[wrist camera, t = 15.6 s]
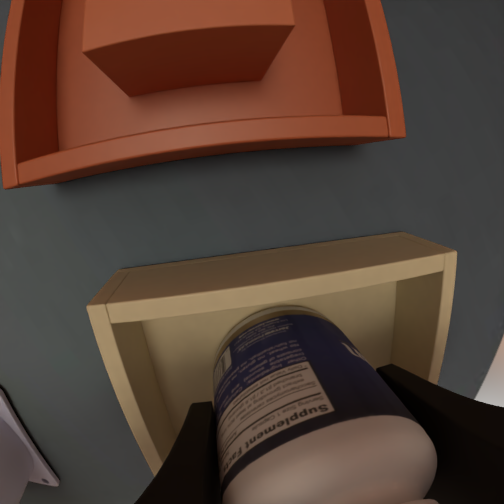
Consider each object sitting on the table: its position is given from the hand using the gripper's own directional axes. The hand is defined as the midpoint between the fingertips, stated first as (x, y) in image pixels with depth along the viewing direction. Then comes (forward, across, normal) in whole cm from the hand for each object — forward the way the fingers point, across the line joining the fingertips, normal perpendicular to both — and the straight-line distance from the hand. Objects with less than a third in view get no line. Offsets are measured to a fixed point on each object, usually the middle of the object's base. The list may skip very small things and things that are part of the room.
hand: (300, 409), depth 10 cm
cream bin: (+3, 0, 0) cm, 3 cm away
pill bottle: (+3, 0, 0) cm, 3 cm away
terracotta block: (+3, +2, -13) cm, 13 cm away
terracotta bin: (+3, +2, -13) cm, 13 cm away
